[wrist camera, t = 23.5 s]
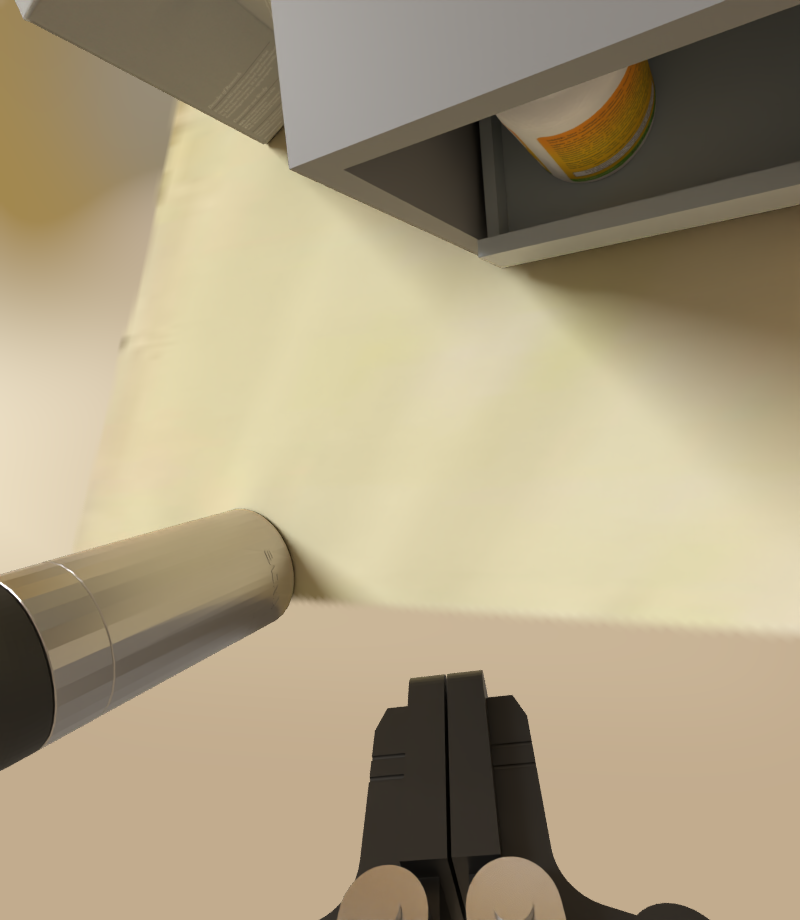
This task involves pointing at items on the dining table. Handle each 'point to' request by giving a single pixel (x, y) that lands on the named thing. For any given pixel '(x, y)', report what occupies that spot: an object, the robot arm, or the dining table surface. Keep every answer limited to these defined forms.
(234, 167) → the dining table surface
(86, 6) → the skincare box
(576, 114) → the supplement bottle
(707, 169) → the drawer
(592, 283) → the dining table surface
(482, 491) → the dining table surface
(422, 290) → the dining table surface
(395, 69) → the cabinet
